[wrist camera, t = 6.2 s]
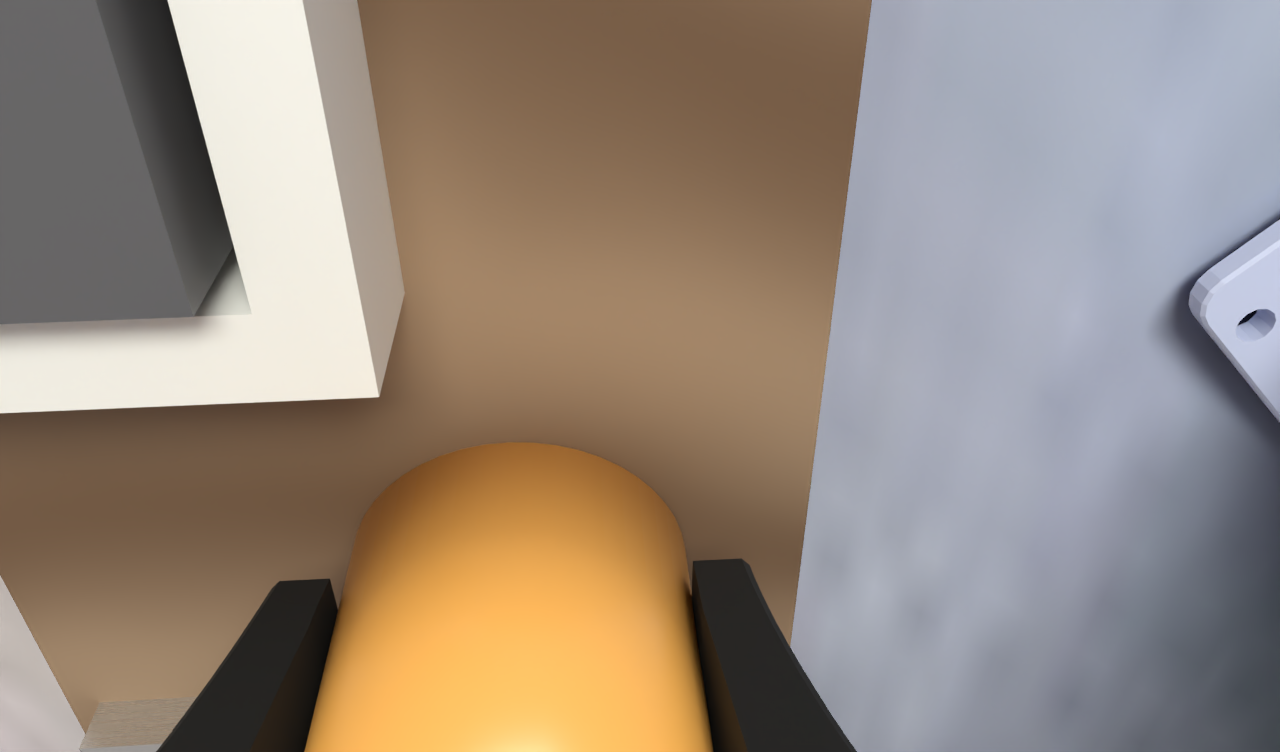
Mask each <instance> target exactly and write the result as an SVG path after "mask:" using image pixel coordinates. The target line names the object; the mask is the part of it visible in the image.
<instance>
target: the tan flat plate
mask: <svg viewBox="0 0 1280 752" xmlns="http://www.w3.org/2000/svg"><path fill="white" fill-rule="evenodd" d="M871 2H872V0H357V3H358V9H359V15H360V21H361V27H362V33H363V40H364V46H365V52H366V58H367V64H368V70H369V77H370V83H371V89H372V95H373V101H374V107H375V113H376V120H377V126H378V132H379V138H380V144H381V150H382V156H383V163H384V169H385V175H386V181H387V187H388V193H389V199H390V206H391V212H392V218H393V224H394V230H395V236H396V243H397V249H398V255H399V261H400V267H401V273H402V279H403V286H404V292H405V294H404V298H403V302H402V306H401V311H400V315H399V319H398V323H397V327H396V331H395V335H394V339H393V343H392V347H391V351H390V355H389V359H388V363H387V367H386V372H385V376H384V380H383V384H382V388H381V392H380V396H379V397H373V398H349V399H326V400H302V401H279V402H255V403H231V404H208V405H184V406H161V407H137V408H114V409H90V410H66V411H43V412H19V413H0V575H1V577H2V579H3V581H4V583H5V585H6V587H7V588H8V590H9V592H10V594H11V596H12V598H13V600H14V601H15V603H16V605H17V607H18V609H19V611H20V613H21V615H22V616H23V618H24V620H25V622H26V624H27V626H28V628H29V629H30V631H31V633H32V635H33V637H34V639H35V641H36V643H37V644H38V646H39V648H40V650H41V652H42V654H43V656H44V657H45V659H46V661H47V663H48V665H49V667H50V669H51V671H52V672H53V674H54V676H55V678H56V680H57V682H58V684H59V685H60V687H61V689H62V691H63V693H64V695H65V697H66V699H67V700H68V702H69V704H70V706H71V708H72V710H73V712H74V713H75V715H76V717H77V719H78V721H79V723H80V725H81V726H82V728H83V730H84V732H85V734H86V732H87V730H88V728H89V725H90V723H91V721H92V719H93V716H94V714H95V712H96V710H97V707H98V705H99V703H100V702H115V701H133V700H150V699H168V698H185V697H198V695H199V694H200V693H201V691H202V690H203V688H204V687H205V686H206V684H207V683H208V682H209V680H210V679H211V677H212V676H213V675H214V673H215V672H216V670H217V669H218V667H219V666H220V665H221V663H222V662H223V660H224V659H225V657H226V656H227V655H228V653H229V652H230V650H231V649H232V647H233V646H234V644H235V643H236V642H237V640H238V639H239V637H240V636H241V634H242V633H243V631H244V630H245V628H246V627H247V625H248V624H249V622H250V621H251V619H252V618H253V616H254V615H255V613H256V612H257V610H258V609H259V607H260V606H261V604H262V603H263V601H264V600H265V598H266V597H267V595H268V593H269V592H270V590H271V589H272V588H273V587H274V586H275V585H276V584H277V583H278V582H279V581H290V580H310V579H330V581H331V585H332V589H333V592H334V596H335V600H336V604H337V608H338V609H339V605H340V600H341V596H342V592H343V588H344V584H345V580H346V575H347V571H348V567H349V563H350V559H351V554H352V550H353V546H354V542H355V538H356V534H357V531H358V528H359V526H360V524H361V521H362V519H363V517H364V515H365V514H366V512H367V511H368V509H369V508H370V506H371V505H372V503H373V502H374V501H375V500H376V499H377V498H378V497H379V495H380V494H381V493H382V492H383V491H384V490H385V489H386V488H387V487H388V486H390V485H391V484H392V483H393V482H395V481H396V480H397V479H398V478H400V477H401V476H402V475H404V474H406V473H407V472H409V471H411V470H412V469H414V468H416V467H417V466H419V465H421V464H423V463H425V462H428V461H430V460H432V459H434V458H437V457H439V456H442V455H445V454H448V453H451V452H454V451H458V450H461V449H465V448H470V447H475V446H480V445H486V444H497V443H507V442H523V443H541V444H550V445H558V446H562V447H567V448H572V449H576V450H580V451H583V452H586V453H589V454H592V455H595V456H598V457H601V458H603V459H605V460H608V461H610V462H612V463H614V464H616V465H618V466H620V467H622V468H624V469H625V470H627V471H629V472H630V473H632V474H633V475H635V476H637V477H638V478H639V479H641V480H642V481H643V482H644V483H645V484H647V485H648V486H649V487H650V488H652V489H653V490H654V491H655V492H656V494H657V495H658V496H659V497H660V498H661V499H662V500H663V501H664V502H665V504H666V505H667V507H668V508H669V509H670V511H671V512H672V514H673V515H674V517H675V519H676V521H677V524H678V526H679V528H680V530H681V533H682V537H683V541H684V545H685V550H686V557H687V565H688V572H689V579H690V586H691V593H692V568H693V561H699V560H720V559H740V558H742V559H743V560H744V561H745V562H747V563H748V564H749V565H750V567H751V570H752V572H753V575H754V577H755V579H756V582H757V584H758V586H759V588H760V590H761V592H762V595H763V597H764V599H765V601H766V603H767V605H768V607H769V609H770V611H771V613H772V615H773V617H774V619H775V621H776V623H777V624H778V626H779V628H780V630H781V632H782V633H783V635H784V637H785V639H786V641H787V643H788V644H789V646H790V643H791V635H792V627H793V619H794V612H795V604H796V596H797V588H798V580H799V572H800V564H801V556H802V548H803V540H804V532H805V525H806V517H807V509H808V501H809V493H810V485H811V477H812V469H813V461H814V453H815V445H816V437H817V430H818V422H819V414H820V406H821V398H822V390H823V382H824V374H825V366H826V358H827V350H828V343H829V335H830V327H831V319H832V311H833V303H834V295H835V287H836V279H837V271H838V263H839V255H840V248H841V240H842V232H843V224H844V216H845V208H846V200H847V192H848V184H849V176H850V168H851V161H852V153H853V145H854V137H855V129H856V121H857V113H858V105H859V97H860V89H861V81H862V73H863V66H864V58H865V50H866V42H867V34H868V26H869V18H870V10H871Z"/></svg>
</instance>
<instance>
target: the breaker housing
mask: <svg viewBox="0 0 1280 752" xmlns="http://www.w3.org/2000/svg"><path fill="white" fill-rule="evenodd" d="M168 4H169V8H170V12H171V15H172V19H173V23H174V26H175V30H176V34H177V38H178V41H179V45H180V49H181V53H182V56H183V60H184V64H185V67H186V71H187V75H188V79H189V82H190V86H191V90H192V93H193V97H194V101H195V105H196V108H197V112H198V116H199V119H200V123H201V127H202V131H203V134H204V138H205V142H206V145H207V149H208V153H209V157H210V160H211V164H212V168H213V171H214V175H215V179H216V183H217V186H218V190H219V194H220V197H221V201H222V205H223V209H224V212H225V216H226V220H227V223H228V227H229V231H230V235H231V238H232V242H233V248H232V250H231V251H230V253H229V255H228V257H227V258H226V260H225V262H224V264H223V265H222V267H221V269H220V271H219V273H218V274H217V276H216V278H215V280H214V281H213V283H212V285H211V287H210V289H209V290H208V292H207V294H206V296H205V297H204V299H203V301H202V303H201V305H200V306H199V308H198V310H197V312H196V313H195V315H194V317H179V318H152V319H126V320H99V321H73V322H47V323H20V324H0V413H19V412H43V411H66V410H90V409H114V408H137V407H161V406H184V405H208V404H231V403H255V402H279V401H302V400H326V399H349V398H373V397H379V396H380V392H381V388H382V384H383V380H384V376H385V372H386V367H387V363H388V359H389V355H390V351H391V347H392V343H393V339H394V335H395V331H396V327H397V323H398V319H399V315H400V311H401V306H402V302H403V298H404V294H405V292H404V286H403V279H402V273H401V267H400V261H399V255H398V249H397V243H396V236H395V230H394V224H393V218H392V212H391V206H390V199H389V193H388V187H387V181H386V175H385V169H384V163H383V156H382V150H381V144H380V138H379V132H378V126H377V120H376V113H375V107H374V101H373V95H372V89H371V83H370V77H369V70H368V64H367V58H366V52H365V46H364V40H363V33H362V27H361V21H360V15H359V9H358V3H357V0H168Z"/></svg>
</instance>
